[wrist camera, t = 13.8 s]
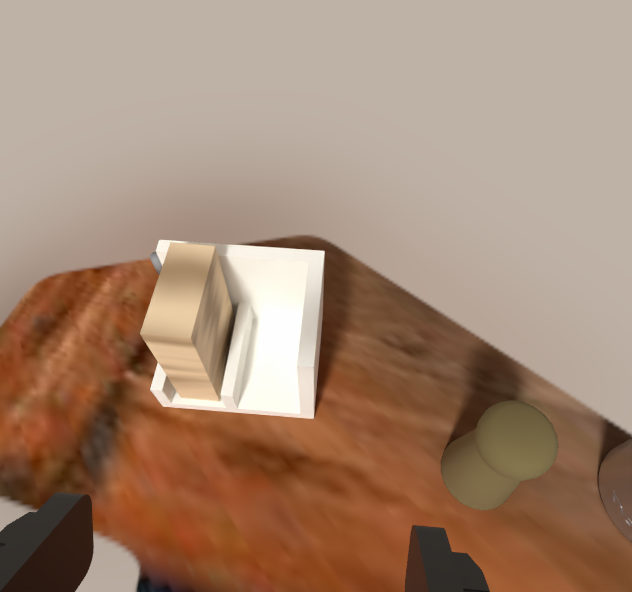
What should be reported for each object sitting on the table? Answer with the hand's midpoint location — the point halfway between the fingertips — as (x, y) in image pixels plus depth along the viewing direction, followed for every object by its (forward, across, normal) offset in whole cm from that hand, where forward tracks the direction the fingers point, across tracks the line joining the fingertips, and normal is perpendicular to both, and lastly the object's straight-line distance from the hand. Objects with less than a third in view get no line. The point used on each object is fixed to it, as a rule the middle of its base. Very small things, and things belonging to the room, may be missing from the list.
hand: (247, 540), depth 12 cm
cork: (+27, -15, +14) cm, 34 cm away
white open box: (+33, +7, +8) cm, 34 cm away
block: (+32, +10, +7) cm, 34 cm away
